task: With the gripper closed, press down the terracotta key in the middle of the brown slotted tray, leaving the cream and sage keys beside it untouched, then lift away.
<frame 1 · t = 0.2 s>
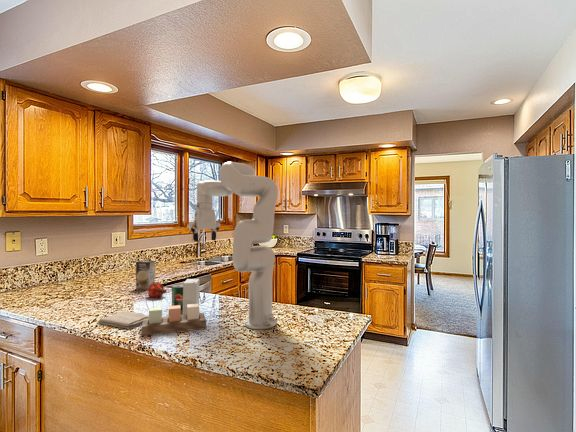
hand: (204, 240, 165), 31 cm above the counter, tool pointing down, fingers open, 9 cm apart
dragon fruit: (156, 297, 176), on the counter
skincare box: (191, 314, 147), on the counter
canned tomato: (180, 308, 155), on the counter
terracotta key: (174, 313, 129), point 6 cm above the counter, slide at 0.0 cm
washcloth: (125, 323, 136), on the counter
brown slotted tray: (174, 327, 129), on the counter
coffee box: (145, 288, 197), on the counter
cream key: (192, 311, 132), point 5 cm above the counter, slide at 0.0 cm
sage key: (155, 315, 127), point 6 cm above the counter, slide at 0.0 cm
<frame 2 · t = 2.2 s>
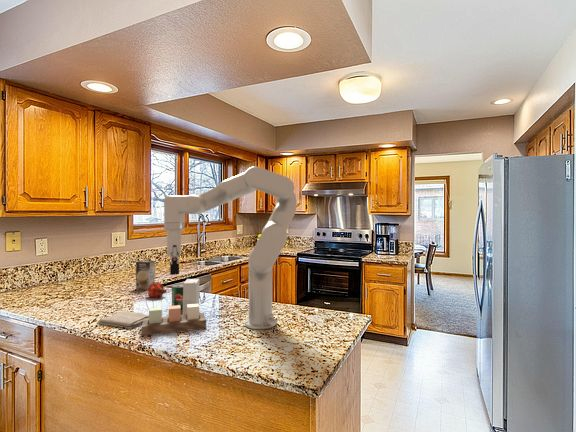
hand: (174, 272, 129), 22 cm above the counter, tool pointing down, fingers open, 6 cm apart
nothing on the counter moved.
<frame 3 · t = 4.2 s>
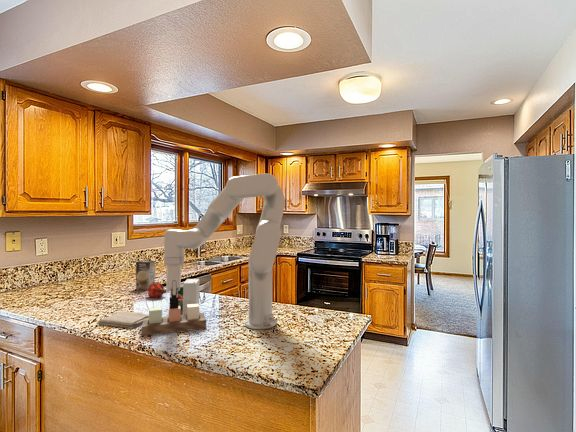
hand: (173, 307, 129), 8 cm above the counter, tool pointing down, fingers closed
terracotta key: (174, 314, 129), point 5 cm above the counter, slide at 0.3 cm, touching gripper
everything else where it was.
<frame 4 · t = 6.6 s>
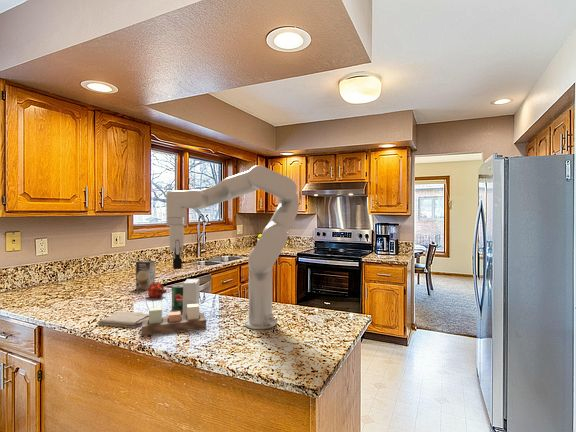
hand: (177, 268, 130), 23 cm above the counter, tool pointing down, fingers closed
terracotta key: (174, 319, 129), point 3 cm above the counter, slide at 2.4 cm
everything else where it was.
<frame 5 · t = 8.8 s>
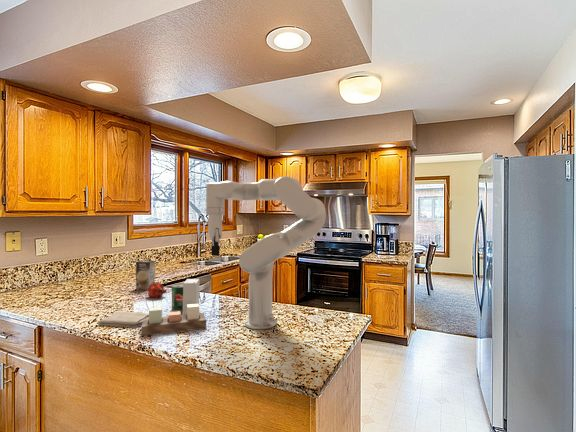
hand: (215, 255, 139), 27 cm above the counter, tool pointing down, fingers closed
at the end: terracotta key slide at 2.4 cm; cream key slide at 0.0 cm; sage key slide at 0.0 cm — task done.
